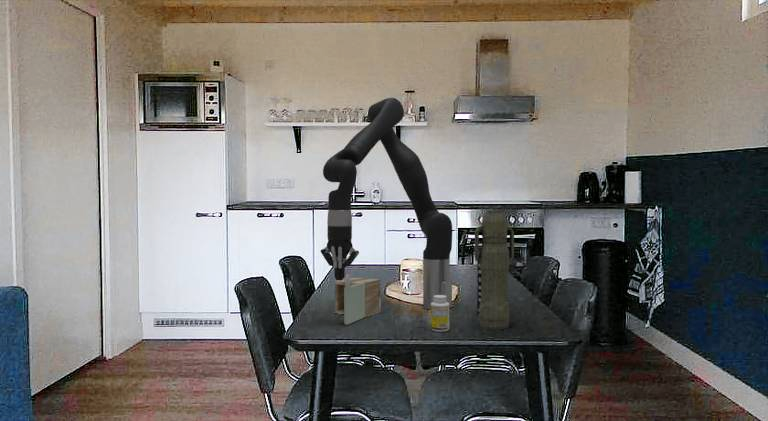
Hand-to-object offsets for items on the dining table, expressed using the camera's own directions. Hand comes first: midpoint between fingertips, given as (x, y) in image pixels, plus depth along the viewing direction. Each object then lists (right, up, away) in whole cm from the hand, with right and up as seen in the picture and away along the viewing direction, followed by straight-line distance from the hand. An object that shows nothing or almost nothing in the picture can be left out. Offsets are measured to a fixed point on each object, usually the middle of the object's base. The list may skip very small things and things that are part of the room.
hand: (339, 279), depth 205 cm
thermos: (+47, -14, -4) cm, 50 cm away
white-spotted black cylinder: (+49, -13, +12) cm, 52 cm away
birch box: (+5, -13, +17) cm, 22 cm away
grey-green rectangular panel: (+5, -13, +4) cm, 14 cm away
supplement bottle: (+31, -14, -9) cm, 35 cm away
